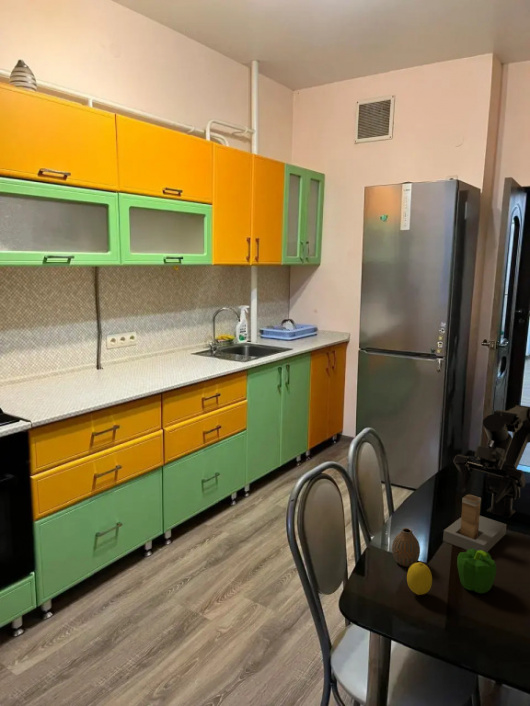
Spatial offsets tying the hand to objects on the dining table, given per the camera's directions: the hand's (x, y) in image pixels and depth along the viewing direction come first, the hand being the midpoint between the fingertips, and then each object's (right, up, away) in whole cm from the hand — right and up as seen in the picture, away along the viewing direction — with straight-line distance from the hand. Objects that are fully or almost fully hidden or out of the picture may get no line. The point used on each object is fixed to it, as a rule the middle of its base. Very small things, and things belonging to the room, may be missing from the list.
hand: (478, 497), depth 143 cm
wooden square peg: (-3, -12, -1) cm, 13 cm away
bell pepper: (-10, -16, -21) cm, 28 cm away
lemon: (-24, -16, -24) cm, 38 cm away
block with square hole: (-1, -12, +1) cm, 12 cm away
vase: (-23, -14, -11) cm, 29 cm away
